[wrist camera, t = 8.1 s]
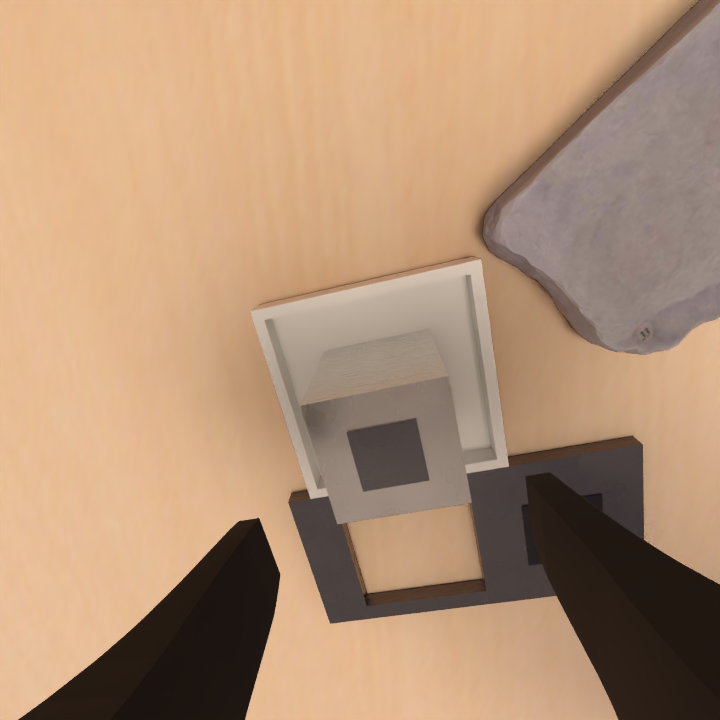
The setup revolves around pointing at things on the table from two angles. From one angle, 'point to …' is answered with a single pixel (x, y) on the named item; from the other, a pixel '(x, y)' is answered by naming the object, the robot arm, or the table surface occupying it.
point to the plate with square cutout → (479, 532)
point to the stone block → (630, 200)
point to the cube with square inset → (386, 428)
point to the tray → (385, 319)
